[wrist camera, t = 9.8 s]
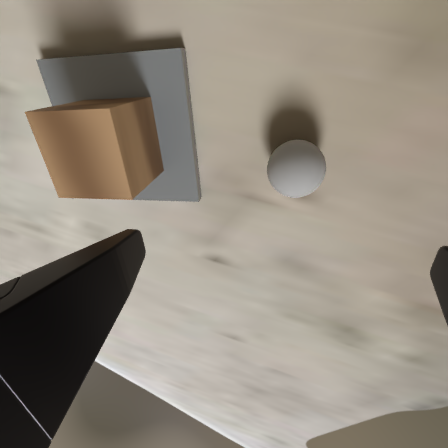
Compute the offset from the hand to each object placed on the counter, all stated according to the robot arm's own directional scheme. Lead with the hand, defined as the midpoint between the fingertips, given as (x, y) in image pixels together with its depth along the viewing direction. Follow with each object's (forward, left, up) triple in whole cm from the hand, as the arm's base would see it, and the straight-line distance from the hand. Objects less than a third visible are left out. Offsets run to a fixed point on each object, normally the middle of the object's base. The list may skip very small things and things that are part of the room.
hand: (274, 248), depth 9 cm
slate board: (+11, -1, -12) cm, 16 cm away
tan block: (+11, -1, -11) cm, 16 cm away
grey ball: (-1, +1, -10) cm, 10 cm away
